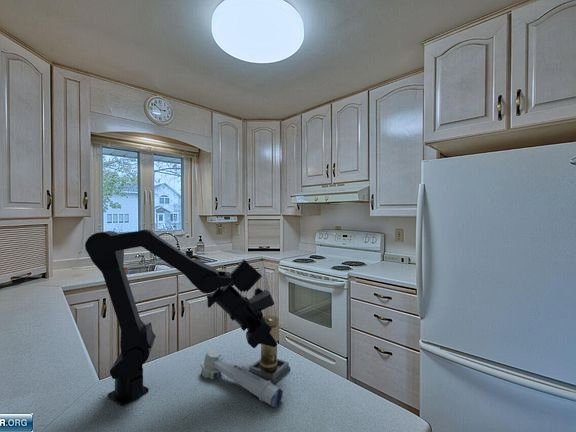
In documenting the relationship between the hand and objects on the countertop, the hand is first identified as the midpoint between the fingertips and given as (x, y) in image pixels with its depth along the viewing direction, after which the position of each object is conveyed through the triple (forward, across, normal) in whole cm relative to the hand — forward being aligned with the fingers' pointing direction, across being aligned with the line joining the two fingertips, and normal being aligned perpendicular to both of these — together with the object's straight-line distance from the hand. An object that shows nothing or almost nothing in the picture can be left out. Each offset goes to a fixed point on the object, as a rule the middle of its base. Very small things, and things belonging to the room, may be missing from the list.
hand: (274, 341), depth 76 cm
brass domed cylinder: (+4, 0, +6) cm, 7 cm away
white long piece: (-1, -4, +14) cm, 14 cm away
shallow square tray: (+5, 0, +7) cm, 8 cm away
